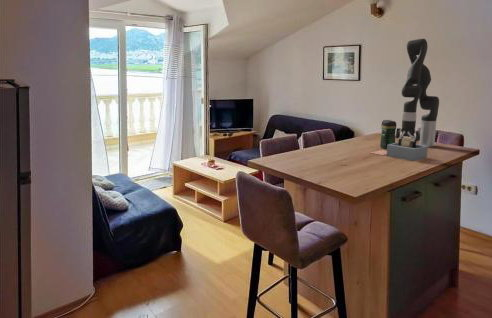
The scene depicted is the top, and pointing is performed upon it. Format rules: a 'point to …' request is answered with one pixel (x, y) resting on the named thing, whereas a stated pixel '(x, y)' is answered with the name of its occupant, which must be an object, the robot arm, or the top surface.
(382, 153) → the terracotta mat
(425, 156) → the box
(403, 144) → the maple block
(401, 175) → the top surface
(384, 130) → the coffee jar
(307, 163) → the top surface
